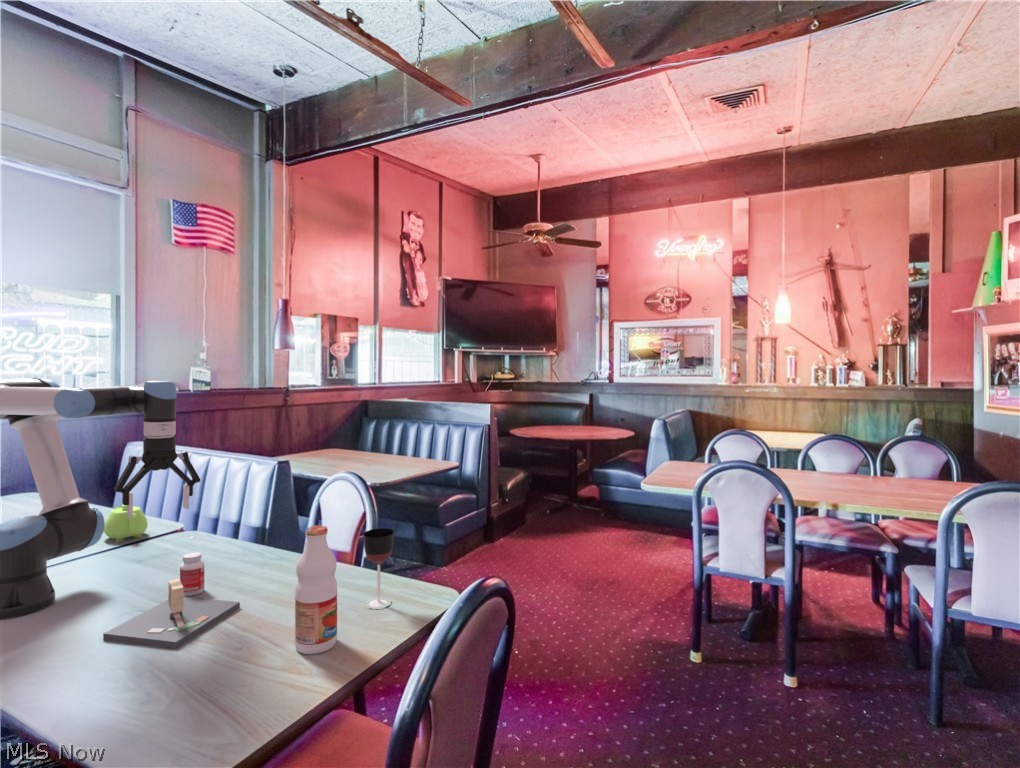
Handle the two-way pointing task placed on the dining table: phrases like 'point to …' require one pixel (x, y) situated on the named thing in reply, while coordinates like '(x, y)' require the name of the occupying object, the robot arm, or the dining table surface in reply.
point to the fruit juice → (316, 595)
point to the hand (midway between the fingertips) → (158, 512)
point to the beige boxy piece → (176, 601)
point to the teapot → (125, 523)
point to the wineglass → (378, 553)
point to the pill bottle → (192, 574)
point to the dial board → (171, 623)
